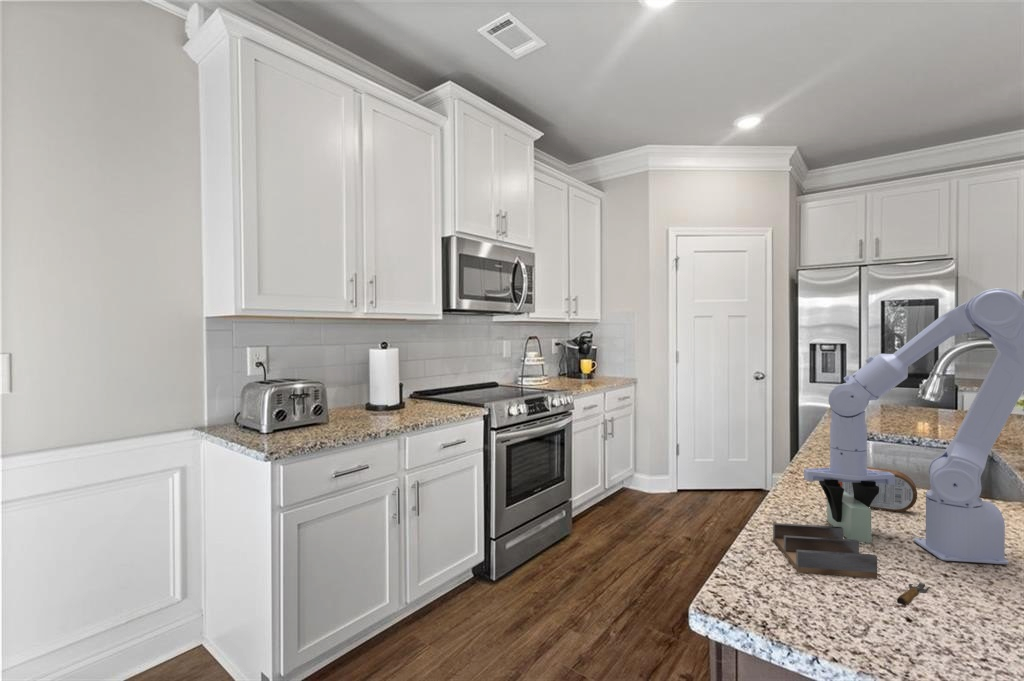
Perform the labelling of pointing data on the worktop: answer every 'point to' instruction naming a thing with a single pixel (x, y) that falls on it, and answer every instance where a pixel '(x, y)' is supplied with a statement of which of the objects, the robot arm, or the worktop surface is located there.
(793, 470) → the worktop surface
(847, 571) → the rack
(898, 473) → the tin
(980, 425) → the robot arm
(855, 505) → the tall sage green block
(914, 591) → the can opener
